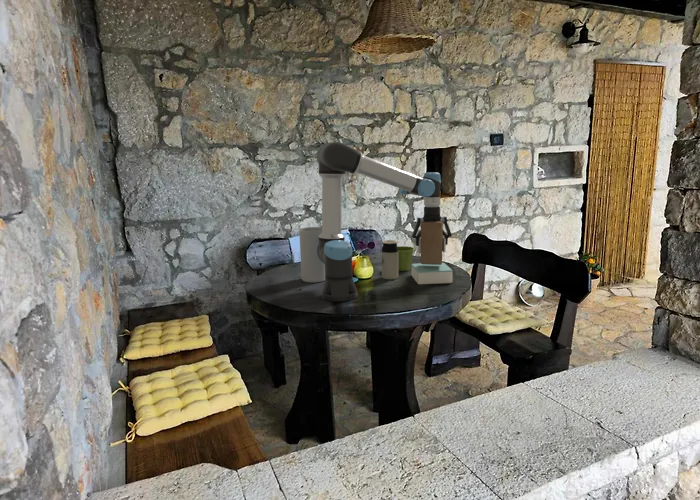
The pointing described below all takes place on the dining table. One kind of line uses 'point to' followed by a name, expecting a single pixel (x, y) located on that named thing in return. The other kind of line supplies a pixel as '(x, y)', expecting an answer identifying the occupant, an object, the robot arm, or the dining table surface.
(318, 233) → the cylinder vase
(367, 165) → the robot arm
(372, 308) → the dining table surface
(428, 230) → the wooden block
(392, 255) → the travel mug
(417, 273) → the base brick
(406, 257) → the plant pot
